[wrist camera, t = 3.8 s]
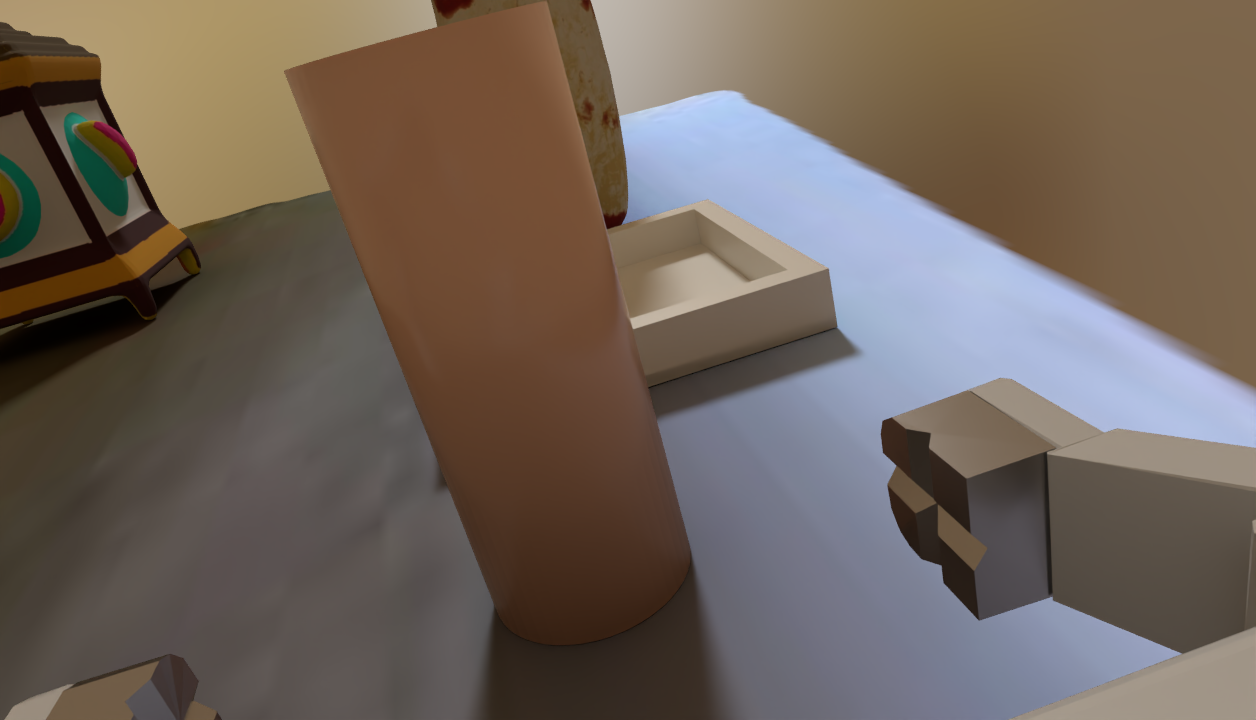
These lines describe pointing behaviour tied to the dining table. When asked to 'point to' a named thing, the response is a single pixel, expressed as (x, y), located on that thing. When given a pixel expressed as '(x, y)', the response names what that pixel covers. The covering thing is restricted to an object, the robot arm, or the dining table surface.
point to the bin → (714, 289)
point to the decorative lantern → (71, 189)
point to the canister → (505, 313)
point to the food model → (575, 88)
